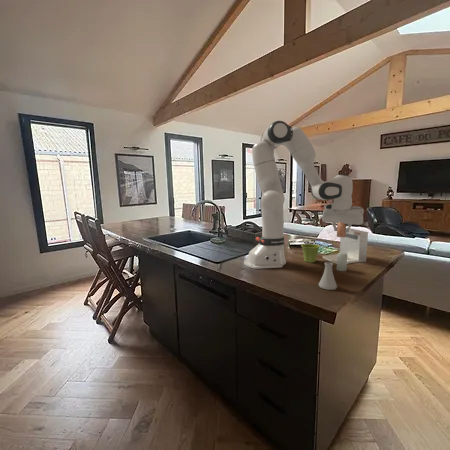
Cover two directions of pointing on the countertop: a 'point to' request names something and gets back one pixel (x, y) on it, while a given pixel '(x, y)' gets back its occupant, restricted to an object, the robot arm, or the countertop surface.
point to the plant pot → (310, 252)
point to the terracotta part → (341, 229)
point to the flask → (328, 278)
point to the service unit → (352, 247)
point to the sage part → (341, 261)
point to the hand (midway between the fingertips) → (341, 231)
